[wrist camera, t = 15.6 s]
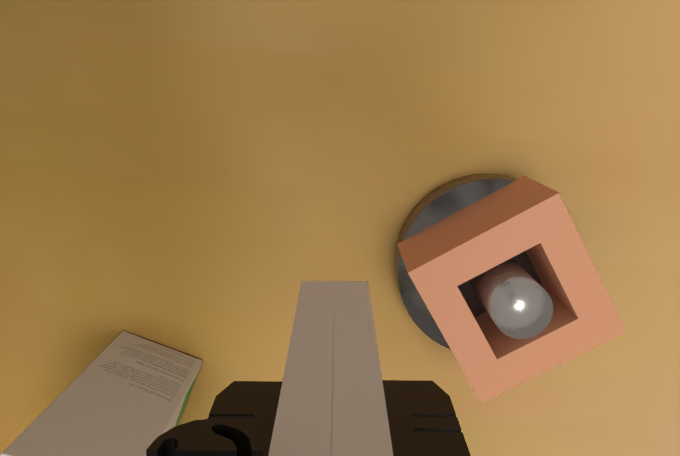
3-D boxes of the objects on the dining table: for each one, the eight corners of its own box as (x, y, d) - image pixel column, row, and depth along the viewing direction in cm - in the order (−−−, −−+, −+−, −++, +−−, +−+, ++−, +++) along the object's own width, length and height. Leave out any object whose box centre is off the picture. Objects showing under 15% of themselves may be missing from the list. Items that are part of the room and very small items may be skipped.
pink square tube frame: (397, 244, 38) (407, 273, 32) (524, 175, 37) (559, 192, 31) (460, 356, 40) (480, 402, 34) (582, 294, 39) (625, 331, 33)
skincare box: (168, 450, 44) (79, 640, 29) (84, 419, 43) (-53, 597, 28) (206, 355, 42) (131, 506, 27) (118, 322, 42) (-8, 457, 27)
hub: (397, 172, 39) (415, 199, 30) (576, 174, 39) (650, 202, 30) (392, 339, 42) (406, 411, 33) (559, 341, 42) (621, 412, 33)
